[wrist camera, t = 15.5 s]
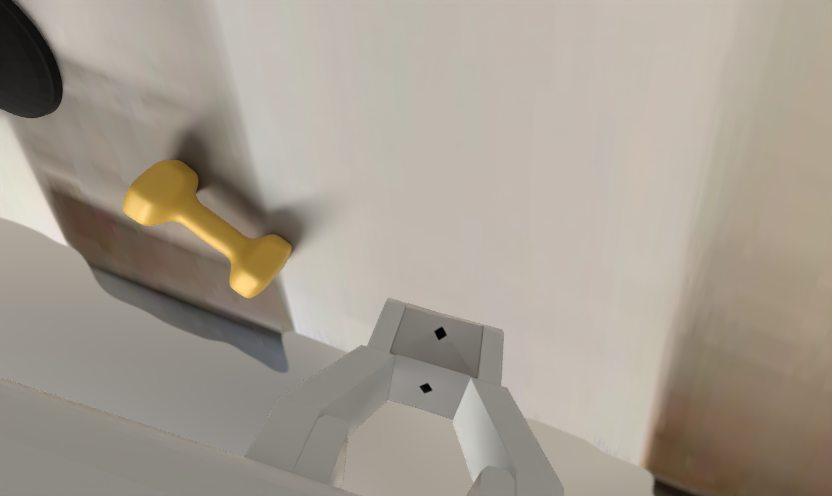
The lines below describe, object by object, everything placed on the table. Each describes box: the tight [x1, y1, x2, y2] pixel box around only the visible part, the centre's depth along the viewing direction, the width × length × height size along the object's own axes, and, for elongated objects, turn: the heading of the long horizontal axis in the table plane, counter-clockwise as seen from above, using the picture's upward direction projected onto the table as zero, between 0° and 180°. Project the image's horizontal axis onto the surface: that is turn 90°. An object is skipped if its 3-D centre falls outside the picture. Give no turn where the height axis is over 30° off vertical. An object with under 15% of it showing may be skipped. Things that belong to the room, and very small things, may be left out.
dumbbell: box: [123, 160, 292, 298], centre depth 49 cm, size 19×9×8 cm, turn 49°
